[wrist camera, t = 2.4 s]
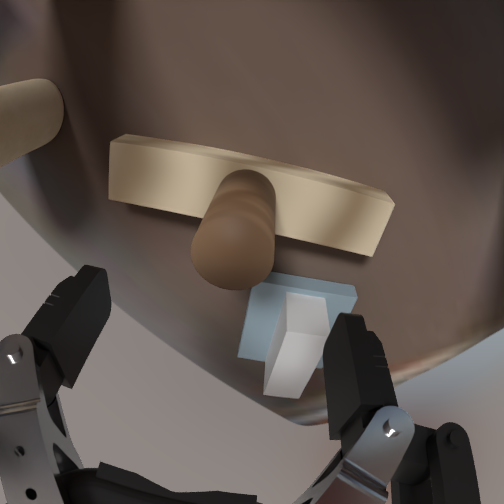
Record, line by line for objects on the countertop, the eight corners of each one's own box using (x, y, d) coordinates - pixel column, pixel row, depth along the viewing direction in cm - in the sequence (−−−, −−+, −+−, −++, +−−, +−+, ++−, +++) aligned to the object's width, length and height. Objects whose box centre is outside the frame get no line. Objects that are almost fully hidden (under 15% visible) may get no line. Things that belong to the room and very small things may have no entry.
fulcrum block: (354, 285, 24) (367, 336, 19) (320, 356, 29) (324, 403, 24) (255, 268, 24) (249, 319, 19) (239, 344, 29) (232, 393, 24)
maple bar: (383, 189, 20) (437, 262, 12) (363, 238, 22) (399, 325, 14) (127, 133, 19) (46, 177, 12) (124, 185, 21) (55, 250, 14)
